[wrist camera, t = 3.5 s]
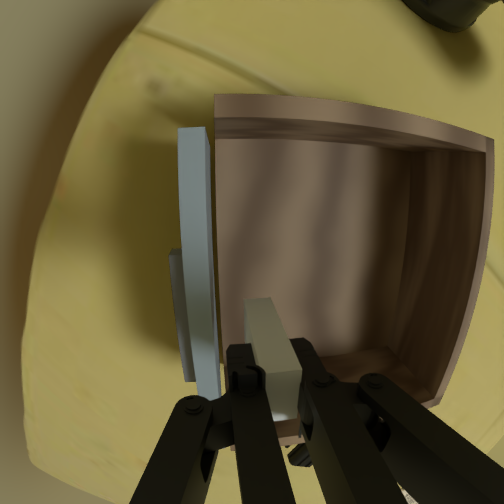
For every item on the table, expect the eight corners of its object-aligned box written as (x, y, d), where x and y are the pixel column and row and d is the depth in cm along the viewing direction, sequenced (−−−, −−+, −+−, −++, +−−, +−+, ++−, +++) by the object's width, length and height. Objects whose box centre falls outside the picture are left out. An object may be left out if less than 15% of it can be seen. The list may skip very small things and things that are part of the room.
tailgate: (209, 146, 23) (204, 126, 12) (219, 361, 28) (224, 448, 17) (185, 147, 22) (160, 129, 12) (199, 362, 28) (196, 448, 17)
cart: (408, 131, 26) (493, 123, 14) (384, 352, 33) (435, 412, 21) (215, 115, 24) (214, 72, 12) (224, 372, 31) (231, 458, 19)
